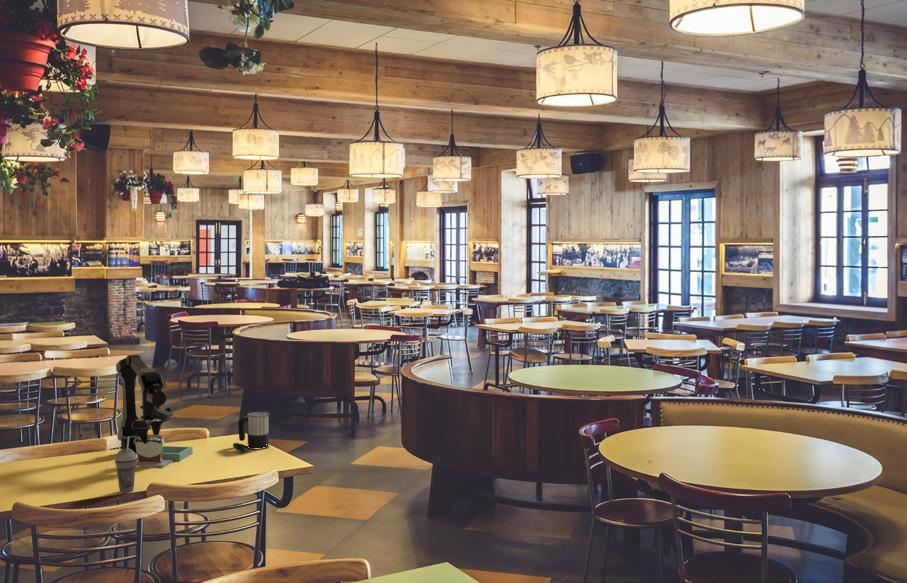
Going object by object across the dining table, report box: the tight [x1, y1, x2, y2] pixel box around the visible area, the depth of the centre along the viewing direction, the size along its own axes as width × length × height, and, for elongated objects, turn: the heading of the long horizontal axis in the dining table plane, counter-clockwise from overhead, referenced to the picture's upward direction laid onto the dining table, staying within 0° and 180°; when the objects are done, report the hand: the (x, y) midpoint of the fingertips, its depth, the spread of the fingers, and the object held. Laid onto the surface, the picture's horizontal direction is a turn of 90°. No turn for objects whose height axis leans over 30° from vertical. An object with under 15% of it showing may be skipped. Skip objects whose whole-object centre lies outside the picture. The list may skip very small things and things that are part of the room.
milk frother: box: [232, 411, 270, 453], centre depth 350 cm, size 14×16×15 cm
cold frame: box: [162, 445, 194, 462], centre depth 338 cm, size 18×12×3 cm, turn 83°
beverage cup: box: [114, 436, 138, 494], centre depth 289 cm, size 7×7×20 cm
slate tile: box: [135, 459, 173, 468], centre depth 326 cm, size 14×8×1 cm, turn 83°
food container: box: [134, 434, 165, 463], centre depth 327 cm, size 12×6×10 cm, turn 83°
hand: (150, 441), depth 325 cm, fingers open, 9 cm apart
